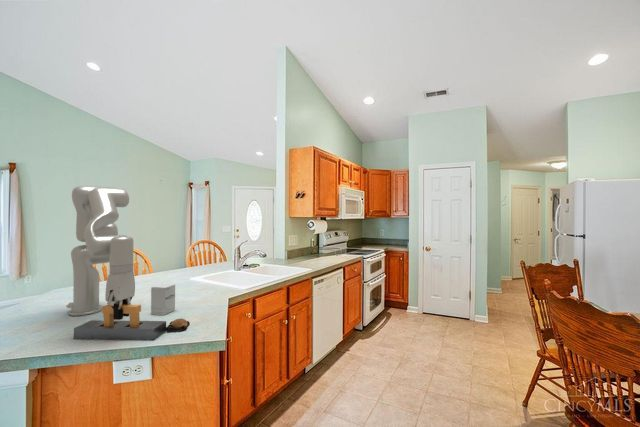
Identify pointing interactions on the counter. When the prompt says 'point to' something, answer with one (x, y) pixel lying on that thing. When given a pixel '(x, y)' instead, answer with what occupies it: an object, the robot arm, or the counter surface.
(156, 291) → the supplement box
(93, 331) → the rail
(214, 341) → the counter surface
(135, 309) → the light wooden bench shape
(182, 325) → the toy turtle
